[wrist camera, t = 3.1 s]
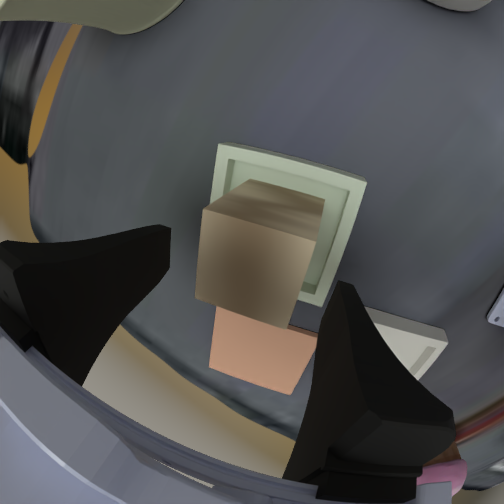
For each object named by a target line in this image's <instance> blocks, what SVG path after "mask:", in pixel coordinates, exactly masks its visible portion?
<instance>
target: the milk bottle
mask: <svg viewBox="0 0 504 504" xmlns="http://www.w3.org/2000/svg"><path fill="white" fill-rule="evenodd" d="M427 1H429V2H431V3H434V4H436V5H438V6H441V7H444V8H447V9H452V10H457V11H475V10H478V9H480V8H481V7H483V6H485V5H486V4H488V3H489V2H491V1H492V0H427Z"/></svg>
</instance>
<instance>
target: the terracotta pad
mask: <svg viewBox="0 0 504 504" xmlns="http://www.w3.org/2000/svg"><path fill="white" fill-rule="evenodd" d="M317 337H318V333H315V332H311V331H308V330H305V329H302V328H298V327H295V326H292V325H289V324H288V326H287V329H286V330H284V329H281V328H278V327H275V326H272V325H269V324H266V323H263V322H260V321H257V320H254V319H251V318H248V317H246V316H243V315H240V314H237V313H234V312H231V311H229V310H226V309H223V308H220V307H218V306H217V308H216V315H215V323H214V331H213V339H212V347H211V355H210V363H209V367H210V368H213V369H215V370H218V371H221V372H223V373H226V374H228V375H231V376H234V377H237V378H239V379H242V380H245V381H248V382H251V383H254V384H256V385H259V386H262V387H266V388H269V389H272V390H275V391H278V392H281V393H285V394H288V395H291V393H292V391H293V389H294V388H295V386H296V384H297V382H298V380H299V379H300V377H301V375H302V373H303V371H304V369H305V368H306V366H307V364H308V362H309V360H310V358H311V356H312V354H313V352H314V350H315V348H316V344H317Z"/></svg>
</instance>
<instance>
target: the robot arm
mask: <svg viewBox="0 0 504 504" xmlns="http://www.w3.org/2000/svg"><path fill="white" fill-rule="evenodd" d="M170 241H171V228H169V227H166V226H163V225H160V224H159V225H151V226H146V227H141V228H137V229H132V230H128V231H124V232H120V233H116V234H111V235H107V236H102V237H98V238H92V239H86V240H79V241H71V242H57V243H28V242H18V241H9V240H7V241H3V242H1V243H0V504H451V501H452V482H451V481H446V482H434V483H425V484H420V485H417V477H420V476H421V475H422V474H423V465H424V464H425V463H427V462H429V461H430V460H432V459H433V458H435V457H437V456H438V455H440V454H441V453H443V452H444V451H445V450H446V449H448V448H449V447H450V445H451V444H452V443H453V441H454V440H455V437H456V431H455V424H454V417H453V411H452V410H451V409H450V408H449V407H448V406H446V405H445V404H444V403H443V402H441V401H440V400H439V399H438V398H436V397H435V396H434V395H433V394H431V393H430V392H429V391H428V390H427V389H426V388H425V387H424V386H423V385H422V384H421V383H420V382H419V381H418V380H417V379H416V378H415V377H414V376H413V375H412V374H411V373H410V372H409V371H408V370H407V369H406V367H405V366H404V365H403V364H402V363H401V362H400V361H399V359H398V358H397V357H396V356H395V354H394V353H393V352H392V350H391V349H390V348H389V346H388V345H387V343H386V342H385V341H384V339H383V338H382V336H381V334H380V333H379V331H378V330H377V328H376V326H375V325H374V323H373V321H372V320H371V318H370V316H369V314H368V312H367V311H366V309H365V307H364V305H363V303H362V301H361V299H360V297H359V295H358V293H357V291H356V289H355V288H354V286H353V285H352V284H349V283H346V282H343V281H339V280H338V282H337V285H336V287H335V290H334V292H333V294H332V297H331V299H330V301H329V304H328V306H327V308H326V311H325V313H324V315H323V317H322V320H321V324H320V328H319V333H318V337H317V344H316V352H315V361H314V370H313V378H312V385H311V391H310V396H309V400H308V403H307V407H306V411H305V414H304V418H303V421H302V424H301V428H300V431H299V434H298V437H297V440H296V443H295V446H294V448H293V451H292V454H291V457H290V459H289V462H288V464H287V467H286V470H285V472H284V474H283V477H282V479H281V478H277V477H273V476H269V475H265V474H261V473H257V472H254V471H251V470H247V469H244V468H241V467H238V466H235V465H232V464H229V463H226V462H223V461H221V460H218V459H215V458H212V457H210V456H207V455H205V454H202V453H200V452H197V451H195V450H193V449H190V448H188V447H185V446H183V445H181V444H179V443H177V442H174V441H172V440H170V439H168V438H166V437H164V436H162V435H160V434H158V433H156V432H154V431H152V430H150V429H149V428H147V427H145V426H143V425H141V424H139V423H138V422H136V421H134V420H132V419H130V418H129V417H127V416H125V415H124V414H122V413H120V412H119V411H117V410H115V409H114V408H112V407H111V406H109V405H108V404H106V403H105V402H103V401H101V400H100V399H98V398H97V397H96V396H94V395H92V394H91V393H90V392H88V391H87V390H85V389H84V388H83V387H82V385H83V383H84V381H85V379H86V377H87V375H88V373H89V371H90V369H91V367H92V366H93V364H94V362H95V360H96V358H97V357H98V355H99V353H100V352H101V350H102V349H103V347H104V346H105V344H106V343H107V341H108V340H109V338H110V337H111V335H112V334H113V333H114V331H115V330H116V328H117V327H118V326H119V325H120V323H121V322H122V321H123V320H124V318H125V317H126V316H127V315H128V314H129V313H130V312H131V311H132V310H133V309H134V308H135V307H136V306H137V305H138V304H139V303H140V302H141V301H142V300H143V299H144V298H145V297H146V296H147V295H148V294H149V293H150V292H151V291H152V290H153V289H154V288H155V286H156V285H157V284H158V283H159V282H160V281H161V279H162V278H163V277H164V275H165V274H166V272H167V271H168V270H169V268H170ZM496 317H497V318H496ZM487 320H488V322H489V323H492V324H495V325H498V326H501V327H504V288H503V290H502V292H501V294H500V295H499V297H498V299H497V300H496V302H495V304H494V305H493V307H492V309H491V310H490V312H489V313H488V315H487ZM154 459H155V460H154ZM156 460H157V461H156ZM158 461H159V462H158ZM160 462H161V463H163V464H165V465H167V466H170V467H172V468H174V469H176V470H178V471H181V472H183V473H185V474H187V475H190V476H192V477H194V478H197V479H199V480H202V481H205V482H207V483H210V484H213V485H215V486H213V487H212V488H210V487H208V486H205V485H203V484H201V483H199V482H196V481H194V480H192V479H190V478H188V477H186V476H184V475H182V474H180V473H178V472H176V471H174V470H172V469H170V468H169V467H167V466H165V465H163V464H161V463H160Z"/></svg>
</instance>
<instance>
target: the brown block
mask: <svg viewBox="0 0 504 504" xmlns="http://www.w3.org/2000/svg"><path fill="white" fill-rule="evenodd" d="M324 202H325V199H323V198H319V197H316V196H313V195H309V194H306V193H302V192H299V191H295V190H292V189H288V188H285V187H281V186H277V185H273V184H270V183H266V182H262V181H258V180H254V179H249V180H247V181H245V182H244V183H242V184H241V185H239V186H237V187H236V188H234V189H233V190H231V191H230V192H228V193H226V194H225V195H223V196H222V197H220V198H219V199H217V200H216V201H214V202H213V203H211V204H210V205H208V206H207V207H205V208H203V214H202V223H201V232H200V242H199V252H198V263H197V275H196V288H195V298H196V299H199V300H202V301H204V302H207V303H210V304H212V305H215V306H218V307H220V308H223V309H226V310H229V311H231V312H234V313H237V314H240V315H243V316H246V317H248V318H251V319H254V320H257V321H260V322H263V323H266V324H269V325H272V326H275V327H278V328H281V329H284V330H286V329H287V326H288V323H289V321H290V318H291V315H292V312H293V310H294V307H295V304H296V301H297V298H298V296H299V293H300V290H301V287H302V284H303V281H304V278H305V275H306V272H307V269H308V266H309V263H310V260H311V257H312V254H313V251H314V248H315V245H316V241H317V236H318V232H319V227H320V222H321V217H322V213H323V207H324Z"/></svg>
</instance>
